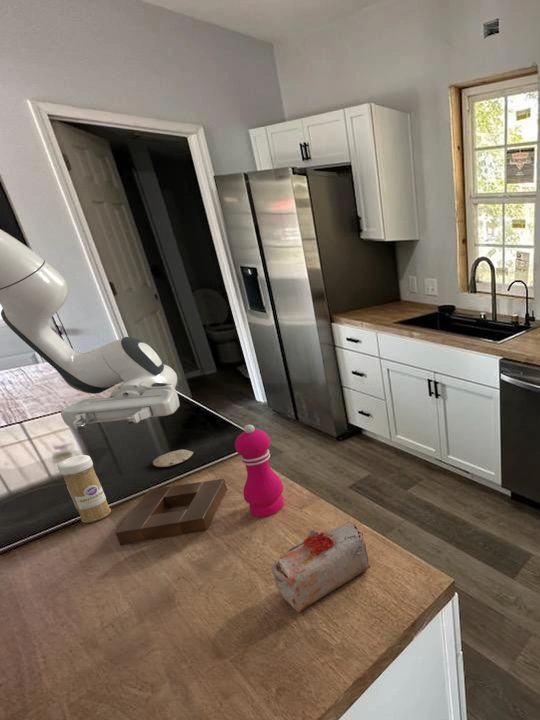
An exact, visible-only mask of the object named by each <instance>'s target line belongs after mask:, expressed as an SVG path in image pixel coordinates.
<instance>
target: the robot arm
mask: <svg viewBox="0 0 540 720" xmlns="http://www.w3.org/2000/svg"><path fill="white" fill-rule="evenodd" d="M68 294H69V286H68V283H67V280H66V278H65V277H64V276H63V275H62V274H61V273H60V272H59V271H58V270H57V269H56V268H55V267H54V266H52V265H51V264H50V263H49V262H47V261H46V260H45V259H44V258H42V257H41V256H40V254H39V255H38V253H36V252H35V251H34V250H32V249H31V248H30V247H28V246H27V245H26V244H24V243H23V242H21V241H20V240H18V239H17V238H15V237H13V236H12V235H11V234H10V233H8V232H6V231H5V230H2V229H1V228H0V306H1V308H2V309H1V311H0V316H1V318H2V320H3V322H4V323H5V324H6V326H8V327H9V329H10V330H11V331H12V332H13V333H14V334H15V335H17V336H18V338H20V340H22V341H23V342H24V343H25V344H26V345H27V346H29V347H30V348H31V349H32V350H33V351H34V352H35V353H36V354H38V355H39V356H40V357H41V358H42V359H43V360H44V361H46V363H48V364H49V365H50V366H51V367H52V368H53V369H54V370H55V371H56V372H57V373H58V374H59V375H60V377H61V378H62V379H63V381H65V383H66V384H67V385H68V386H70V388H72V389H74V390H76V391H78V392H82V393H86V394H91V395H98V394H102V393H104V392H106V391H108V390H109V389H111V388H113V387H115V386H116V385H118V386H117V387H115V388H114V389H113V390H112V391H111V392H110V395H109V397H97V398H88V399H83V400H80V401H77V402H75V403H73V404H71V405H69V406H67V407H66V408H64V409H62V410H61V411H60V417H61V418H62V421H63V423H64V424H65V425H66V426H69V427H70V426H72V427H73V428H74V430H81V429H82V430H84V429H86V428H87V427H89V424H90V425H91V424H99V423H109V422H119V421H120V422H121V421H127V423H128V424H138V423H140V421H143V420H145V419H149V418H159V417H166V416H170V415H173V414H174V413H175V412H176V411H177V410H178V408H180V399H179V395H178V393H177V390H176V387H177V385H178V375H177V373H176V371H175V370H174V369H173V368H172V367H170V365H166V364H164V360H163V358H162V357H161V355H160V354H159V352H158V351H157V350H156V349H155V348H154V346H152V345H151V344H150V343H148V342H146V341H144V340H142V339H139V338H136V337H131V336H124V337H121V338H119V339H117V340H114V341H112V342H109V343H106V344H105V345H102V346H100V347H97V348H95V349H92V350H90V351H87V352H80V351H76V350H74V349H73V348H72V347H71V346H70V345H69V343H67V342H66V341H65V340H64V339H63V338H62V337H61V336H59V334H58V333H56V331H54V329H52V328H51V326H50V323H49V321H50V320H51V319H52V318H53V317H54V316H55V314H56V313H58V311H59V310H61V308H62V307H63V306H64V304H65V302H66V301H67V298H68V296H69V295H68Z"/></svg>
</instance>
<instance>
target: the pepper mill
mask: <svg viewBox="0 0 540 720" xmlns="http://www.w3.org/2000/svg"><path fill="white" fill-rule="evenodd" d="M255 428H256V427H255V426H254V425H253V424H246V425H245V426H244V428H243V431H244V432H242V433H240V434H239V435H238V436H237V437H236V439H235V442H234V448H235V451H236V452H237V454H238V455H240V460H241V463H242V465H244V466H245V469H246V473H247V476H246V479H245V480H246V481H245V483H244V487H243V491H242V492H243V499H244V501H245V502H246V503H247V504H248V507H249V511H250V514H251V516H253V517H255V518H256V517H257V518H265V517H269V516H272V515H274V514H276V513H278V512H279V511H280V510H282V508H283V507H284V505H285V501H284V497H283V495H282V494H283V492H284V486H283V482H282V479H281V478H280V477H279V476H278V475H277V474H276V473H275V472H274V470H273V469H272V467H271V466H270V465H271V464H270V461H269V459H270V458H271V453H270V449H269V447H270V445H271V439H270V437H269V435H268V434H267V433H266V431H263V430H260V429H255Z"/></svg>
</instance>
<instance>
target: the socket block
mask: <svg viewBox="0 0 540 720" xmlns="http://www.w3.org/2000/svg"><path fill="white" fill-rule="evenodd" d="M227 492H228V487H227V482H226V479H225V478H219V479H212V480H206V481H205V480H204V481H199V482H198V481H197V482H191V483H185V484H178V485H172V486H170V485H169V486H164V487H157V488H149V489H148V491H147V492H146V493H145V494H144V496H143V497H142V498H141V500H140V501H139V502H138V503H137V504H136V505H135V507H134V508H133V510H132V511H131V512H130V513H129V515H128V516H127V517H126V518H125V520H123V522H122V523H121V525H120V526H119V527H118V528H117V530H116V531H115V536H116V538H117V541H118V543H119V545H120V546H124V545H130V544H136V543H141V542H147V541H152V540H156V539H163V538H164V539H165V538H170V537H176V536H181V535H187V534H192V533H198V532H205V531H208V529H209V527H210V525H211V523H212V521H213V519H214V517H215V515H216V513H217V511H218V509H219V507H220V506H221V503H222V502H223V499H224V497H225V495H226V494H227ZM186 506H187V508H186V509H181V510H174V511H169V512H167V510H168V509H172V508H173V509H174V508H179V507H186Z"/></svg>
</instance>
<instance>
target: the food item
mask: <svg viewBox="0 0 540 720" xmlns="http://www.w3.org/2000/svg"><path fill="white" fill-rule="evenodd" d="M270 569H271V572H272V574H273V578H274V582H275V585H276V587H277V589H278V591H279V593H280V595H281V596H282V597H283V599H284V600H285V601H286V602H287V603H288V604H289V605H290V606H291V607H292V608H293V609H294V610H296V611H297V612H298V613H300V612H302V611H304V610H305V609H307V608H308V607H309V606H311V605H313V604H315V602H317V601H318V600H320V599H321V598H323V597H324V596H327V595H328V594H330V593H331V592H333V591H334V590H336V589H337V588H339V587H341V586H343V585H344V584H346V583H348V582H349V581H351V580H353V579H354V578H355V577H358V576H359V575H361V574H362V573H363V572H365V571H368V569H371V564H370V563H369V555H368V551H367V546H366V543H365V540H364V533H363V532H361V531H360V530H359V529H358V527H357V526H356V525H355V524H354V523H353V522H351V521H347V522H345V523H344V524H342V525H339V526H337V527H334V528H333V529H331V530H329V531H326V532H325V531H321V532H320V533H319V532H317V531H315V530H314V529H311V530H310V531H309V535H307V537H306V538H305V539H304V540H303V541H302V542H299V543H297V544H294V546H292V547H290V548H289V549H288V550H287V551H286V552H285V553H284V554H282V555H281V556H279V557H278V558H277V562H276V561H275V562H274V563H273V565H272V566H271V567H270Z"/></svg>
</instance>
